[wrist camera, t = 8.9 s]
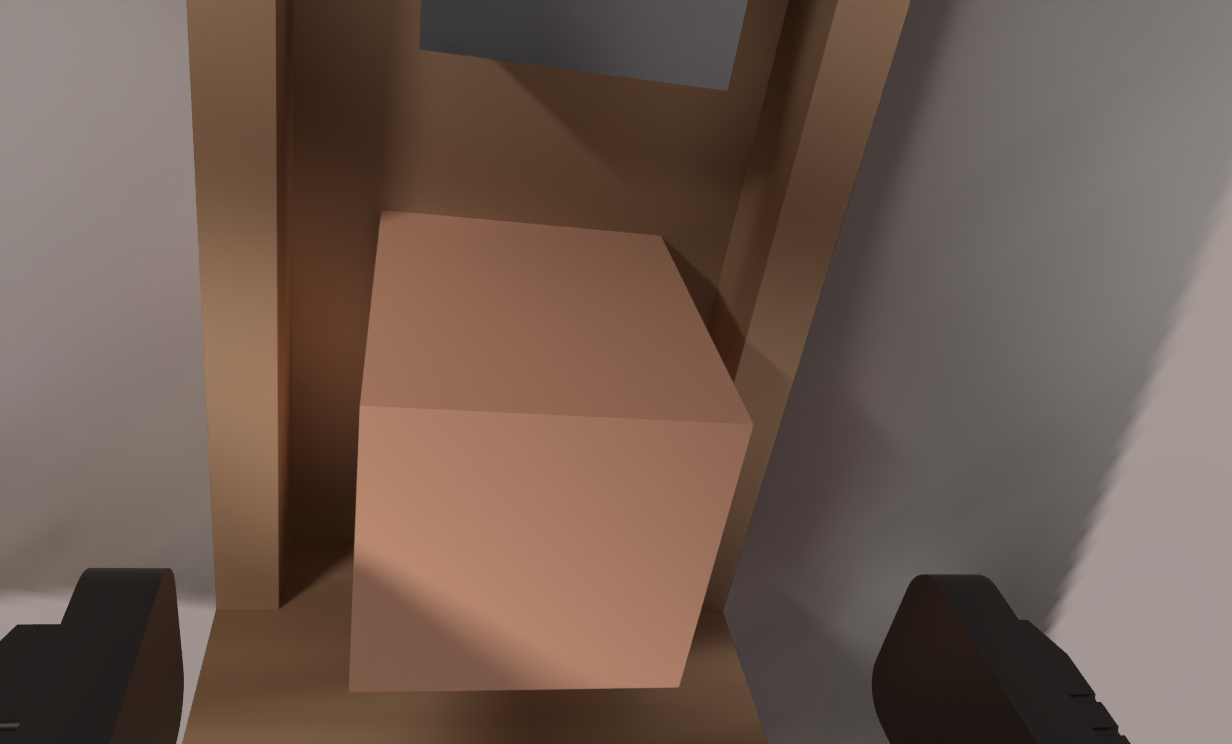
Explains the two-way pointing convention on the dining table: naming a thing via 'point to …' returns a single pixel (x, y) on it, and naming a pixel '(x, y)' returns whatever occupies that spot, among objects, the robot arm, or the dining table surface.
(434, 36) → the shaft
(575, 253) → the block
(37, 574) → the dining table surface
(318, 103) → the wooden tray
